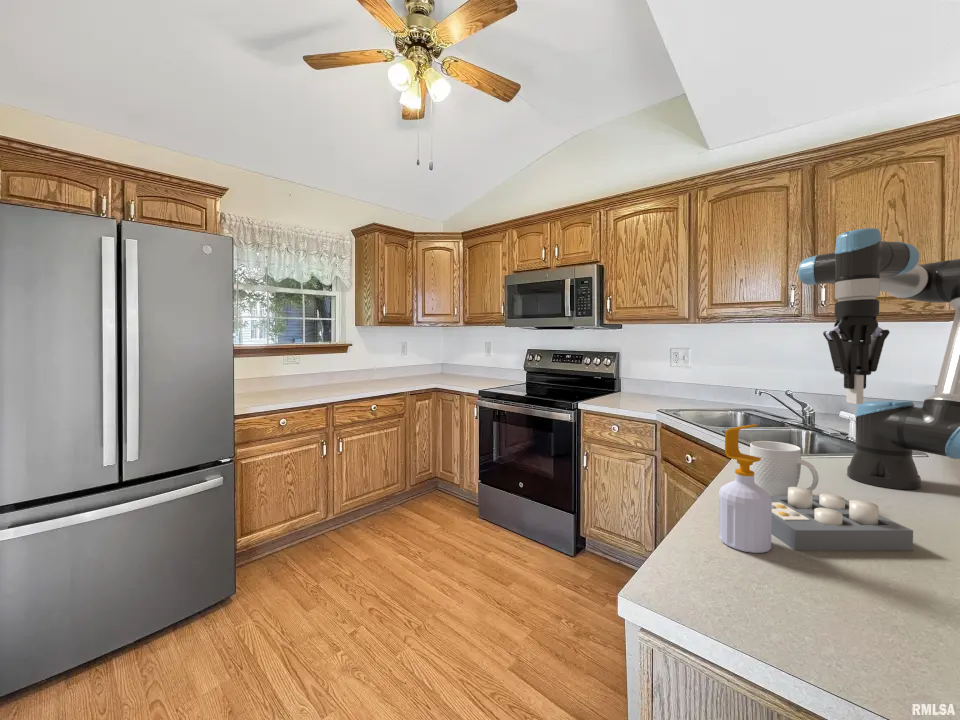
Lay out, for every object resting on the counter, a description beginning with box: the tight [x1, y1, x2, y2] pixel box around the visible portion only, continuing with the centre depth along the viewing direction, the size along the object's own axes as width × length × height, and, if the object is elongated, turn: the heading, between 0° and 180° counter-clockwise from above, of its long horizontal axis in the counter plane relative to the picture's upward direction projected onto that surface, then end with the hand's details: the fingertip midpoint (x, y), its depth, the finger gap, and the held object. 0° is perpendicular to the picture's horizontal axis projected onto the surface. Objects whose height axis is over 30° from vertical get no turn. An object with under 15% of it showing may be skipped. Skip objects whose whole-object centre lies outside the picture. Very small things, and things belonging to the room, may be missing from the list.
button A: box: [818, 493, 846, 509], centre depth 93 cm, size 4×4×4 cm
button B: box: [848, 499, 879, 525], centre depth 85 cm, size 4×4×4 cm
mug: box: [749, 440, 819, 496], centre depth 108 cm, size 15×11×13 cm
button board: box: [770, 495, 914, 552], centre depth 89 cm, size 22×18×4 cm
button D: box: [814, 508, 842, 525], centre depth 85 cm, size 4×4×4 cm
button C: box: [788, 486, 814, 509], centre depth 93 cm, size 4×4×4 cm
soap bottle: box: [718, 423, 772, 554], centre depth 84 cm, size 9×9×25 cm
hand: (854, 402), depth 94 cm, fingers closed
